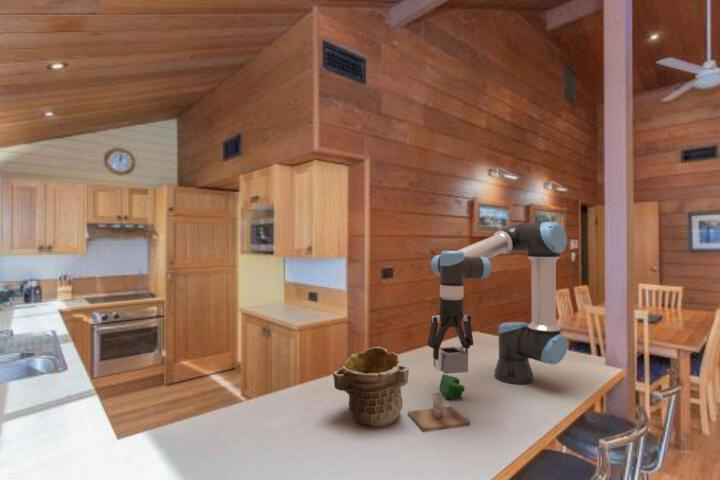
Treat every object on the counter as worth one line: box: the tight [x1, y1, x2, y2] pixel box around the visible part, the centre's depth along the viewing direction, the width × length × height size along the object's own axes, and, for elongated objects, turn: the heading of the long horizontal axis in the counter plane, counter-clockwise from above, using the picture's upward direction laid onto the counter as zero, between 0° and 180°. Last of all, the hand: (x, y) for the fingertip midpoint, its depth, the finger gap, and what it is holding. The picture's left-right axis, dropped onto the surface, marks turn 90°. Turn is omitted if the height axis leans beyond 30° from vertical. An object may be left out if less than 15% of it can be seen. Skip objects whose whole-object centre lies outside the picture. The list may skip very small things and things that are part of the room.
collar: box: [433, 346, 469, 375], centre depth 127 cm, size 8×8×6 cm
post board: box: [407, 392, 471, 433], centre depth 126 cm, size 16×12×8 cm
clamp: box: [439, 373, 466, 401], centre depth 147 cm, size 12×6×9 cm, turn 175°
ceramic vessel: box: [332, 346, 410, 428], centre depth 127 cm, size 23×24×25 cm
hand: (450, 368), depth 127 cm, fingers closed on collar, 8 cm apart
